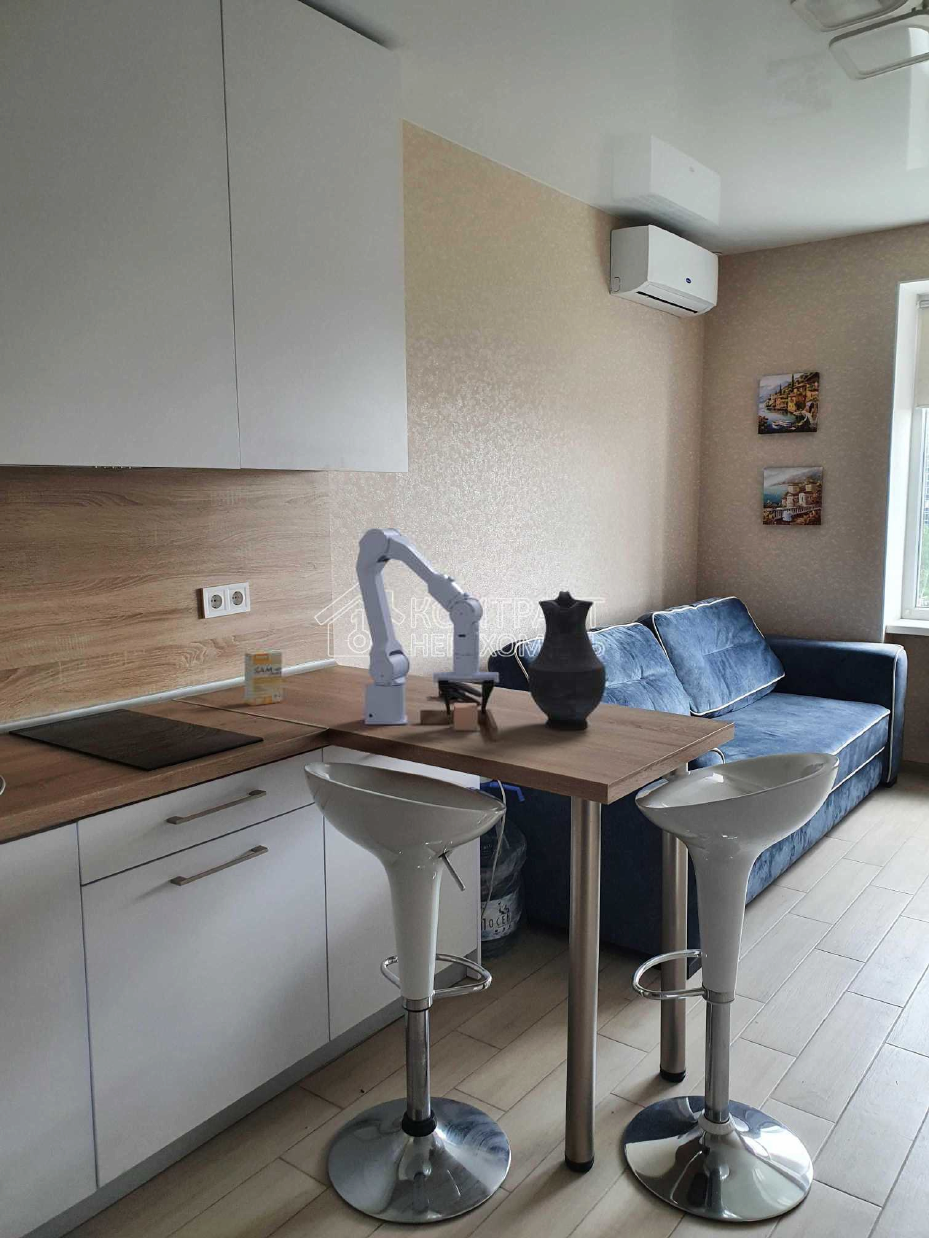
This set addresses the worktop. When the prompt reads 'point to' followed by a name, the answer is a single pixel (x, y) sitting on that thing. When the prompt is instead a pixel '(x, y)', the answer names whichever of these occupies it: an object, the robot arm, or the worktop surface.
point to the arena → (442, 717)
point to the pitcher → (566, 666)
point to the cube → (465, 716)
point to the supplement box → (263, 677)
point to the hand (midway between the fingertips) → (465, 713)
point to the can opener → (463, 692)
